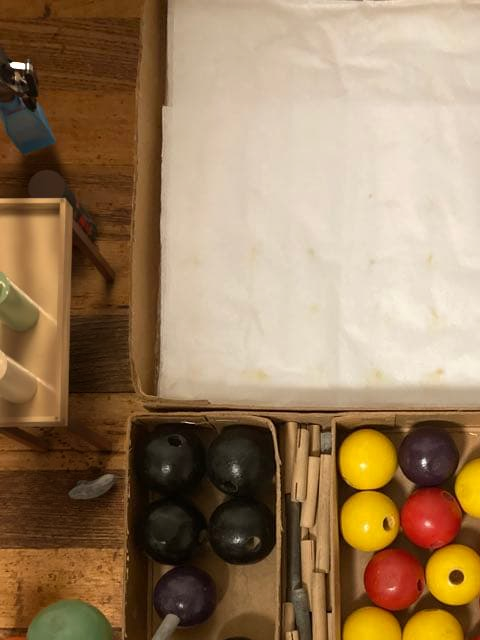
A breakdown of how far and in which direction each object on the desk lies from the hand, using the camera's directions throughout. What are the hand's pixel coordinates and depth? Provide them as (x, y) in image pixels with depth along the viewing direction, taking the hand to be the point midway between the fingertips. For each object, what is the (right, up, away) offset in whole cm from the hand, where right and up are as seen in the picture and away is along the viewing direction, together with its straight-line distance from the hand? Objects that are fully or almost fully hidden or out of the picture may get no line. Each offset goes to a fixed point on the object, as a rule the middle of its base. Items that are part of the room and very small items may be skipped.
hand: (14, 107), depth 139 cm
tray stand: (+7, -40, +10) cm, 42 cm away
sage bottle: (+7, -38, -13) cm, 41 cm away
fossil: (+11, -63, +8) cm, 64 cm away
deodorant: (+6, -16, +12) cm, 21 cm away
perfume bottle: (0, -1, +8) cm, 8 cm away
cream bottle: (+7, -49, -14) cm, 51 cm away
